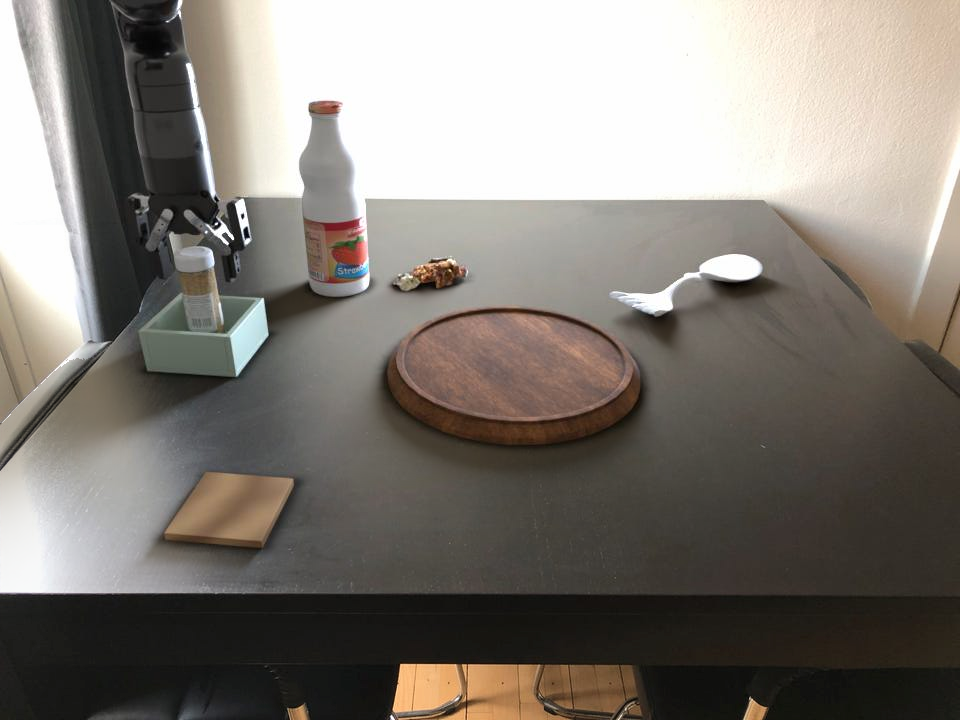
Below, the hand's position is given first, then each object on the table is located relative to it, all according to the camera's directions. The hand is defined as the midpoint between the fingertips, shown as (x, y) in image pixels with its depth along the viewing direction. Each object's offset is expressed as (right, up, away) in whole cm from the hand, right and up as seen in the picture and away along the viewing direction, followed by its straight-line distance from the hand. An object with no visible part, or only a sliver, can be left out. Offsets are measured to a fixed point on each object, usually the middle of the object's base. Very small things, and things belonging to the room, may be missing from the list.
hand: (198, 278), depth 93 cm
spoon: (+69, 0, +25) cm, 74 cm away
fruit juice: (+13, +1, +25) cm, 29 cm away
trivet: (+12, -25, -22) cm, 35 cm away
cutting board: (+39, -12, +2) cm, 41 cm away
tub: (0, -9, +5) cm, 11 cm away
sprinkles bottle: (0, -9, +5) cm, 10 cm away
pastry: (+27, +2, +28) cm, 39 cm away
